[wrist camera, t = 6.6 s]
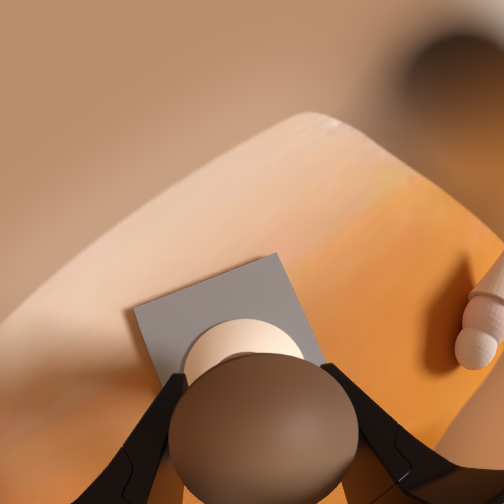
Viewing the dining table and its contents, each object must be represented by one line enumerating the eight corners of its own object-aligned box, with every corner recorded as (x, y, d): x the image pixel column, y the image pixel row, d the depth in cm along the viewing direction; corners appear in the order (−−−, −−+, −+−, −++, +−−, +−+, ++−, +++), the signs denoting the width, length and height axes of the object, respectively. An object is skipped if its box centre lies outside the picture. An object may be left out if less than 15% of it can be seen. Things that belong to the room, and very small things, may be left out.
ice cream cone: (492, 247, 27) (444, 363, 25) (488, 214, 23) (435, 347, 21) (534, 258, 21) (489, 385, 19) (537, 224, 18) (491, 372, 16)
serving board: (350, 428, 20) (357, 432, 19) (215, 485, 18) (214, 492, 17) (274, 257, 25) (276, 251, 23) (137, 310, 23) (131, 307, 21)
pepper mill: (281, 431, 14) (338, 520, 5) (200, 420, 14) (158, 505, 5) (293, 356, 16) (373, 361, 6) (212, 344, 16) (181, 337, 6)
